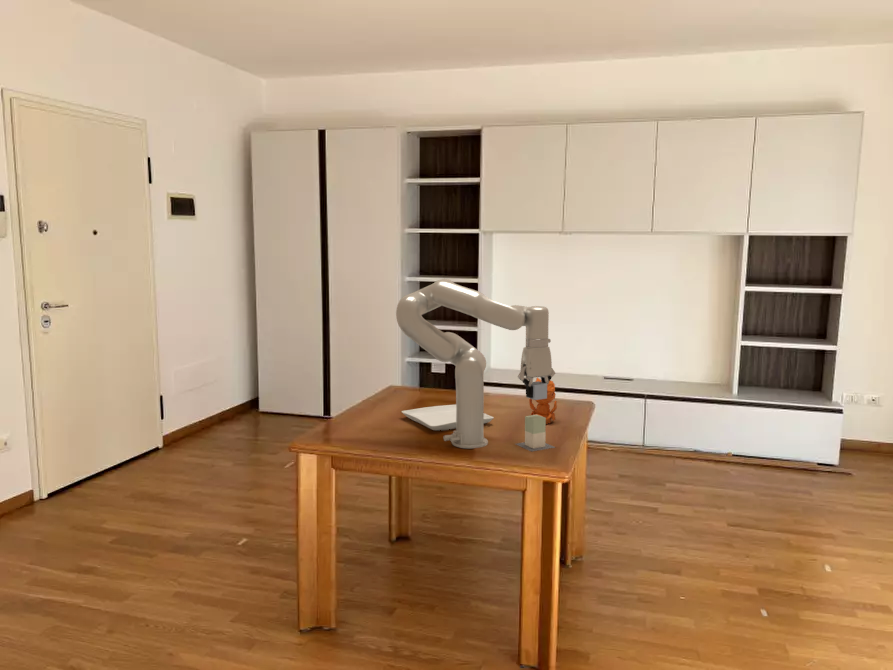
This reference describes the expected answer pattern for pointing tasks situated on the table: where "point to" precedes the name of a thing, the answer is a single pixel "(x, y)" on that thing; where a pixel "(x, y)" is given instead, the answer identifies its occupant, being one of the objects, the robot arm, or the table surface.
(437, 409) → the square plate
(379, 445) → the table surface
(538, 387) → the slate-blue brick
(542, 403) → the orange sculpted figure
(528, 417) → the pale green cube
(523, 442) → the mat
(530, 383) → the robot arm
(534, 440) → the beige cube
